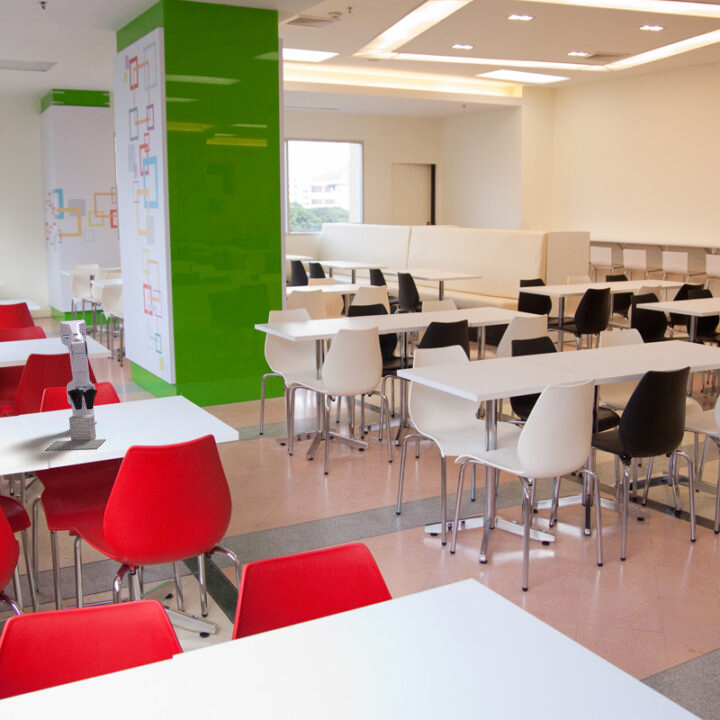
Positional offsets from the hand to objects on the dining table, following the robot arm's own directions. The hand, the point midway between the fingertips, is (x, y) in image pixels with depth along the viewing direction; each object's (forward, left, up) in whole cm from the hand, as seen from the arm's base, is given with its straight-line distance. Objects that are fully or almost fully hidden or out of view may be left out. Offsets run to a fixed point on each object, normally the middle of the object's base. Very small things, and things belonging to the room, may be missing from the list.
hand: (84, 409), depth 309 cm
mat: (+14, 0, -10) cm, 17 cm away
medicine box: (+5, 0, -10) cm, 11 cm away
